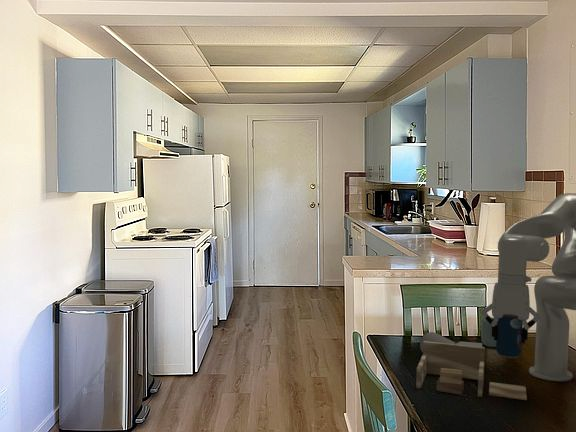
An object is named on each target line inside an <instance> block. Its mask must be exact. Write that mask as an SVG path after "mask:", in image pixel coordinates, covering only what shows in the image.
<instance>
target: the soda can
mask: <svg viewBox="0 0 576 432" xmlns="http://www.w3.org/2000/svg"><path fill="white" fill-rule="evenodd" d="M522 331H523V324H522V321H521V320H519V319H518V316H507V315H503V317H502V318H499V319H498V322H497V340H496V347H495V350H496V352H497V354H498V355H499V356H500V357H504V358H509V359H514V358H515V359H516V358H519V357H520V356H521V354H522V350H523V349H522V348H523V343H522Z"/></svg>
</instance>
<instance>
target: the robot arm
mask: <svg viewBox="0 0 576 432" xmlns="http://www.w3.org/2000/svg"><path fill="white" fill-rule="evenodd" d="M563 232H564V240H563V242H562V244H561V246H560V248H559V250H558V252H557V254H556V255H555V258H554V260H553V262H552V265H551V273H552V274H553V275H543V276H541V277H539V278H538V279H537V280H536V281H535V283H534V288H533V292H534V299H535V304H536V305H535V306H536V309H535V310H534V309H533V308H532V307H531V305H530V304H531V303H530V302H531V301H530V288H529V285H528V284H527V283H531V282H532V276H527V262H535V263H536V262H542V261H544V260H545V259H546V258H547V257H548V255H549V253H550V244H549V242H548V240H546V239H550V238H555V237H558V236H560V235H562V233H563ZM497 250H498V268H497V269H498V270H497V282H494V286H493V290H492V299H491V303H490V304H489V305H487V306H485V308H483V309H481V310H480V314H481V316H483V318H485V319H486V320H487V321H488V322H489V323H490V324H491V326H492V337H494V340H495V341H496V340H497V326H496V324H497V322H498V319H499V318H502V317H503V315H507V316H518V319H519V320H521V321H522V324H523V331H522V345H523V344H525V343H526V341H528V336H529V330H530V328H532V327H533V326H534V325H536V326H535V345H534V349H535V350H534V365H533V366H530V367H529V369H528V372H529V374H530V375H531V376H533V377H534V378H538V379H540V380H541V379H542V380H545V381H550V382H551V381H552V382H568V381H572V380H573V378H574V376H573V372H571V371H569V370H568V363H569V362H568V361H569V340H570V337H569V336H570V319H569V317H568V314H567V312H566V311H565V310H571V311H576V193H574V192H573V193H571V192H570V193H569V192H567V193H566V192H565V193H562V194H559V195H558V196H556V197H555V198H554V199H553V201H552V202H551V203H549V204H548V205H547V207H545V208H544V209H543V211H541V213H539V214H535V215H533V216H530V217H528V218H525V219H522V220H519V221H518V222H516V223H514V224H512V225H511V226H509V228H507V229H506V230H505V231H504V233H502V235H501V236H500V238H499V239H498V242H497ZM490 311H491V315H492V318H493V319H492V318H491V316H490V315H489V312H490ZM530 314H531V316H532V319H530ZM529 319H530V320H529ZM528 320H529V321H528Z"/></svg>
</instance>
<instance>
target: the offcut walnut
mask: <svg viewBox="0 0 576 432" xmlns="http://www.w3.org/2000/svg"><path fill="white" fill-rule="evenodd" d="M464 384H465V381H464V380H462V385H461V384H452V383H443V382H440V377H438V379H437V381H436V391H437V392H442V393H443V392H444V393H448V394H456V395H463V392H464V391H465V389H464V387H465V385H464Z"/></svg>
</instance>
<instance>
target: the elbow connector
mask: <svg viewBox="0 0 576 432" xmlns="http://www.w3.org/2000/svg"><path fill="white" fill-rule="evenodd" d="M424 341H429V342H438V343H448V344H457V345H467V346H476V347H483V342H472V341H471V342H470V341H459V342H458V341H457V342H456V341H455V342H454V341H453V340H451V339H449V338H446V337H445V336H443V335H441V334H439V333H436V332H434V331H429V332H426V333H425V334H423V336H422V337H421V338H420V342H419V347H420V351H421V352H422V353H423V342H424Z"/></svg>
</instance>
